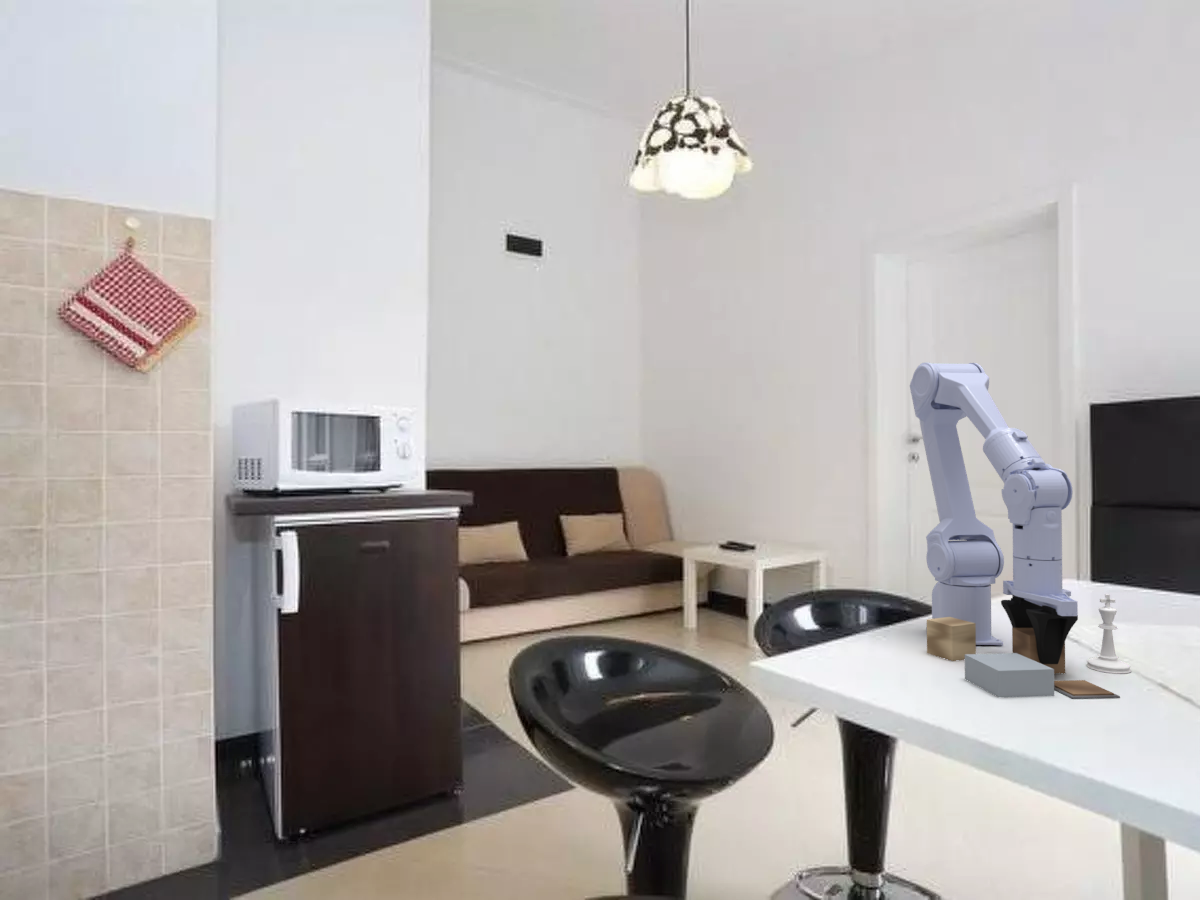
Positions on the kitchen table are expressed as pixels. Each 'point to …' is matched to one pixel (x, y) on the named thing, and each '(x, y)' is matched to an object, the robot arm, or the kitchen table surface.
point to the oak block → (951, 638)
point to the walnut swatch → (1082, 689)
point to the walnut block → (1032, 648)
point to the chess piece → (1108, 643)
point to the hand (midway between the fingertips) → (1038, 657)
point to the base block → (1009, 675)
